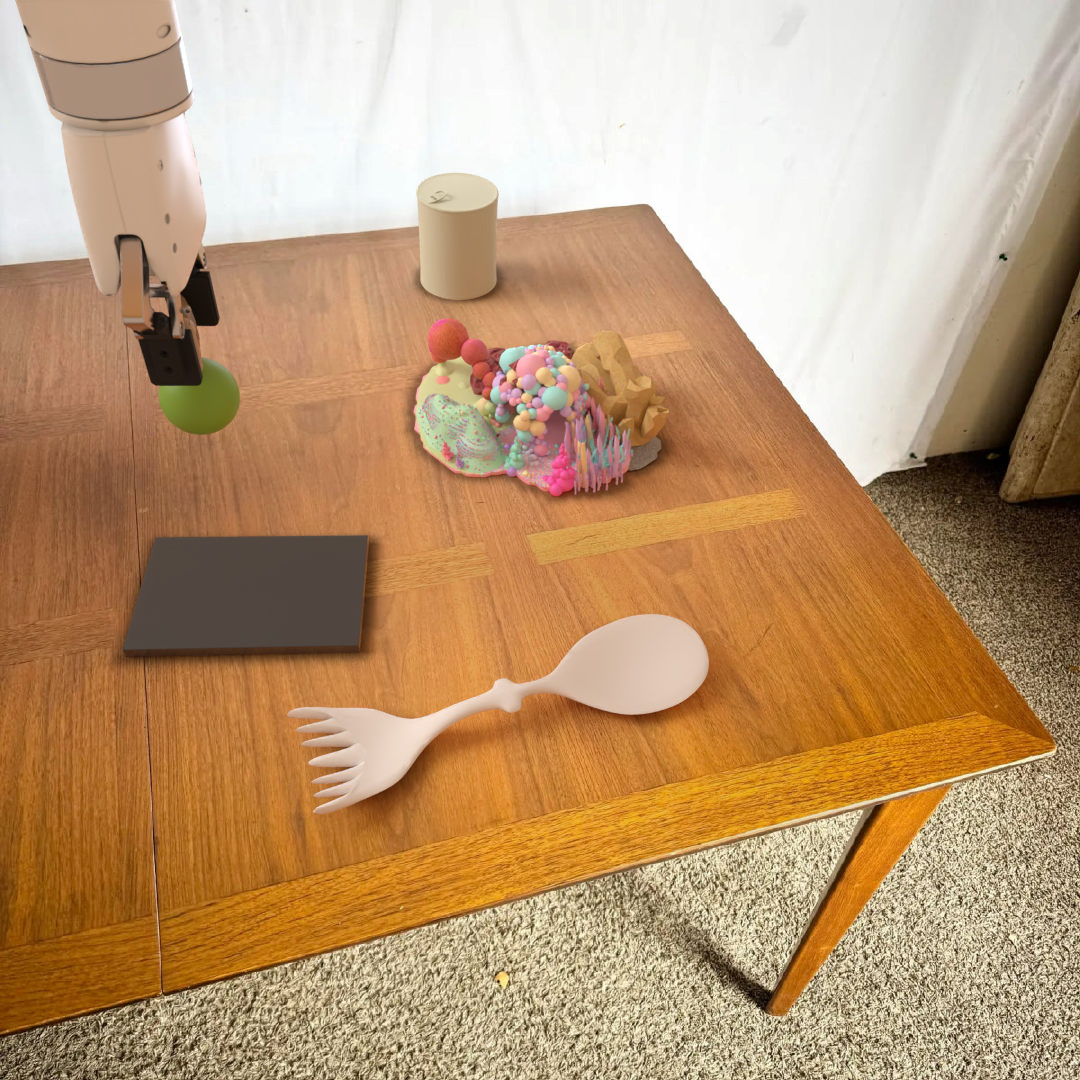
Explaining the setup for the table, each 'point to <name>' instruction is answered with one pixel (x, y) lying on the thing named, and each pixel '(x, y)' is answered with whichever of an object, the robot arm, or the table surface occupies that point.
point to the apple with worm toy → (201, 393)
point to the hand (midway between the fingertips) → (187, 350)
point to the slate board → (250, 596)
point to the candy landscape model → (537, 410)
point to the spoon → (514, 702)
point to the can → (457, 235)
